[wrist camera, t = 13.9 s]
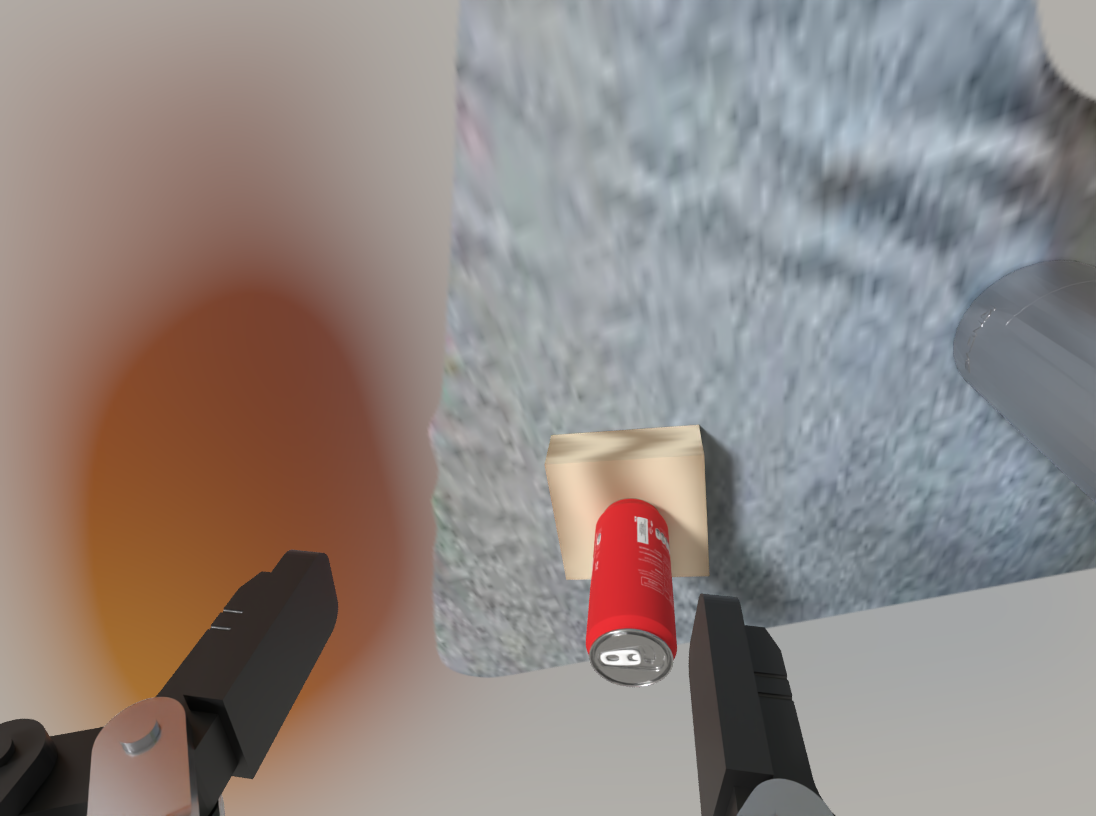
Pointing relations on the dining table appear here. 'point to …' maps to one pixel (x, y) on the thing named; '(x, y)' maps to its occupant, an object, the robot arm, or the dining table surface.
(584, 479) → the beech block
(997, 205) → the dining table surface
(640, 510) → the beverage can
